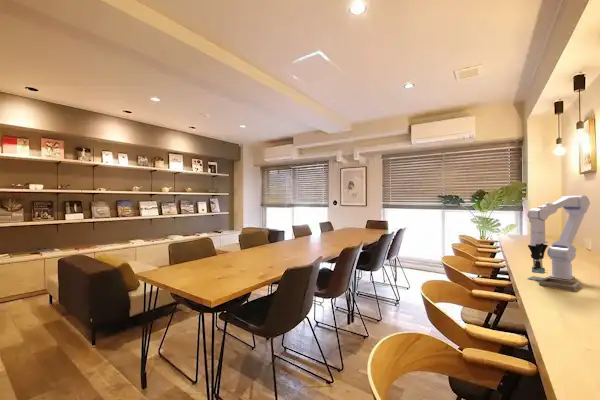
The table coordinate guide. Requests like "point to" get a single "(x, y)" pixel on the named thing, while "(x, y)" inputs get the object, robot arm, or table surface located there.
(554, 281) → the frame
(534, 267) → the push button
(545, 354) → the table surface
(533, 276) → the mat
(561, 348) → the table surface
